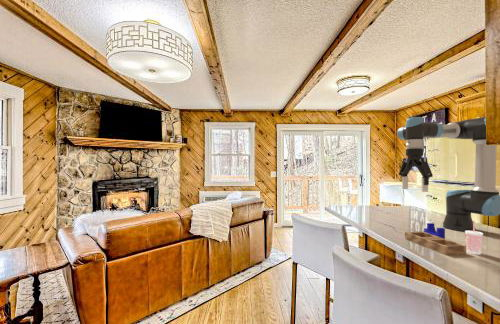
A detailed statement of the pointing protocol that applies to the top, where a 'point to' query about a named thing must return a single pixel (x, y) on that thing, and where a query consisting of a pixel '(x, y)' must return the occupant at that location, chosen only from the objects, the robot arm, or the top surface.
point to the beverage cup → (474, 241)
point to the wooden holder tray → (436, 243)
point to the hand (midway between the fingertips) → (414, 190)
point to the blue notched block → (431, 230)
